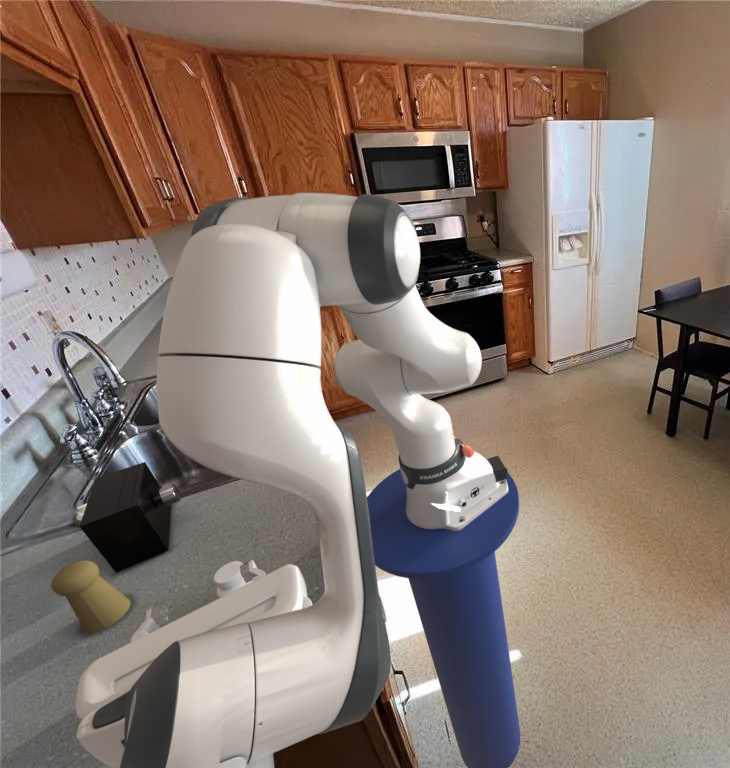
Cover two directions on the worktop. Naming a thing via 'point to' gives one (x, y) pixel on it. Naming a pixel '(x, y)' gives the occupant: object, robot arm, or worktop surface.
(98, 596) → the cork
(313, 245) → the robot arm
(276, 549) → the worktop surface
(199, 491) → the worktop surface
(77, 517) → the stove knob
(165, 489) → the push knob
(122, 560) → the control block
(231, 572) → the pill bottle
